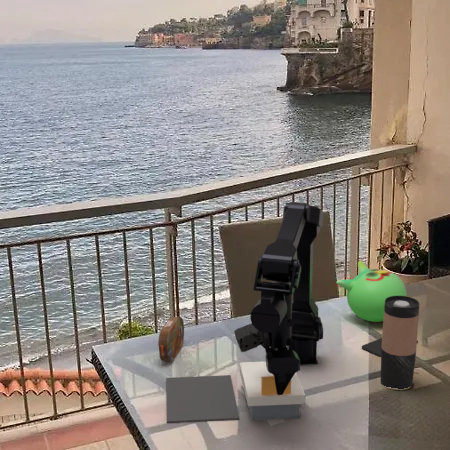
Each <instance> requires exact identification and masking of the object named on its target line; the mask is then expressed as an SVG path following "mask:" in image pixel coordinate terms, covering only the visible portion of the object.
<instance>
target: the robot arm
mask: <svg viewBox="0 0 450 450" xmlns="http://www.w3.org/2000/svg"><path fill="white" fill-rule="evenodd" d="M280 224H281V225H280V227H279V230H278V232H277V236H276V238H275V240H274V241H273V242H272V243H270V244H268V245H266V247H265V249H264V250H263V253H262V255H260V256H259V257H258V261H257V267H256V272H255V278H254V283H253V291H256V292H260V298H259V300H258V301H257V302H256V304H255V305H254V307H253V309H252V310H251V312H250V322H251V323H249V324H246V325H244V326H241V327H239V328H236V329H235V330H234V331H233V334H234V338H235V340H236V343H237V345H238V348H239V350H240V352H241V353H245V352H246V353H247V352H248V351H251V350H254V349H256V348H258V347H259V346H261V347H262V348H263V349H265V362H266V367H267V370H268V372H269V373H272V374H273V375H274V380H275V386H276V392H277V395H283V393H284V391H285V389H286V388H287V386H288V384H289V382H290V381H291V379H292V377H293V376H294V374H295V373H298V372H299V371H301V365H303V366H304V365H318V364H319V360H318V359H317V352H318V351H317V350H318V349H317V348H318V347H317V346H318V342H320V340H323V339H324V327H323V326H324V325H323V323H322V320H321V319H322V318H321V317H320V316H319V307H318V304H317V303H316V302H315V301H314V299H313V269H314V268H313V267H314V265H313V264H314V262H313V261H314V241H315V240H316V238H317V236H318V235H319V233H320V231H321V227H323V224H324V211H323V209H321V208H320V207H319V205H311V204H309V203H306V202H297V201H290V202H286V203H285V205H283V213H282V220H281V223H280ZM262 280H263V281H262ZM269 281H270V282H269Z"/></svg>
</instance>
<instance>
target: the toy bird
mask: <svg viewBox="0 0 450 450" xmlns="http://www.w3.org/2000/svg"><path fill="white" fill-rule="evenodd" d="M357 268H358V274H357V275H356V276H355V277H354V278H353V279H338V280H337V281H336V285H338V286H340V288H343V289H345V291H346V292H347V293H346V298H347V303H348V306H349V308H350V310H351V311H352V312H353V314H354V315H356V316H357V317H359V318H360V319H362V320H364V321H368V322H371V323H372V322H373V323H377V322H378V323H379V322H380V323H381V322H383V319H384V306H385V299H386V298H388V297H391V296H407V289H406V286H405V284H404V282H403V280H402V279H401V278H400V277H399V276H398V275H397V274H395V273H393V272H391V271H388V270H384V269H377V268H374V269H370V268H369V267H368V266H367V265H366V263H364V262H363V261H362V260H359V261H358V263H357Z"/></svg>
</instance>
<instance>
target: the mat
mask: <svg viewBox="0 0 450 450" xmlns="http://www.w3.org/2000/svg"><path fill="white" fill-rule="evenodd" d="M165 388H166V392H165V393H166V401H165V402H166V404H165V405H166V424H175V423H176V424H178V423H179V424H180V423H197V422H199V423H200V422H214V421H215V422H216V421H218V422H220V421H222V422H224V421H240V413H239V410H238V405H237V399H236V394H235V390H234V386H233V380H232V375H230V374H228V375H223V374H222V375H221V374H220V375H206V376H205V375H203V376H202V375H201V376H199V375H198V376H179V377H178V376H175V377H166V378H165Z"/></svg>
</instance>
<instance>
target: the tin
mask: <svg viewBox="0 0 450 450" xmlns="http://www.w3.org/2000/svg"><path fill="white" fill-rule="evenodd" d="M184 325H185V324H184V320H183V317H181V316H171V317H169V318H168V320H167V321H166V322H165V323H164V325H163V326H162V328H161V330H160V331H159V335H158V341H157V343H158V344H157V345H158V352H159V353H158V354H159V359H160V361H162V362H168V363H169V362H171V363H173V362H174V361H175V359H177V355H178V354H179V353H180V351H181V350H182V347H183V344H184V341H185V340H184V339H185V337H184V336H185V326H184Z"/></svg>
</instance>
